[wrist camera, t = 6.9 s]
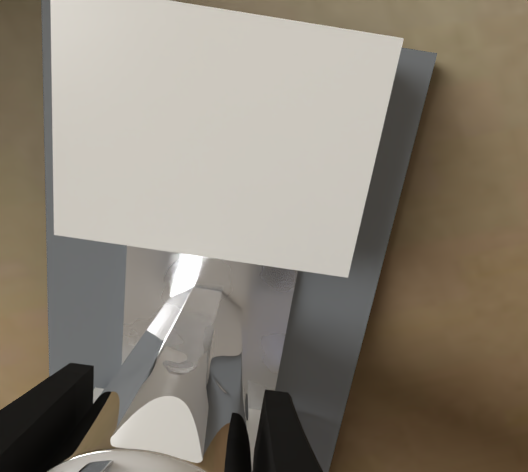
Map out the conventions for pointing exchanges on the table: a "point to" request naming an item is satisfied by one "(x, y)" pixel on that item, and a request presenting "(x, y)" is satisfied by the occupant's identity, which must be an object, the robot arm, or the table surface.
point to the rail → (220, 279)
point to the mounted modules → (215, 132)
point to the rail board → (305, 291)
